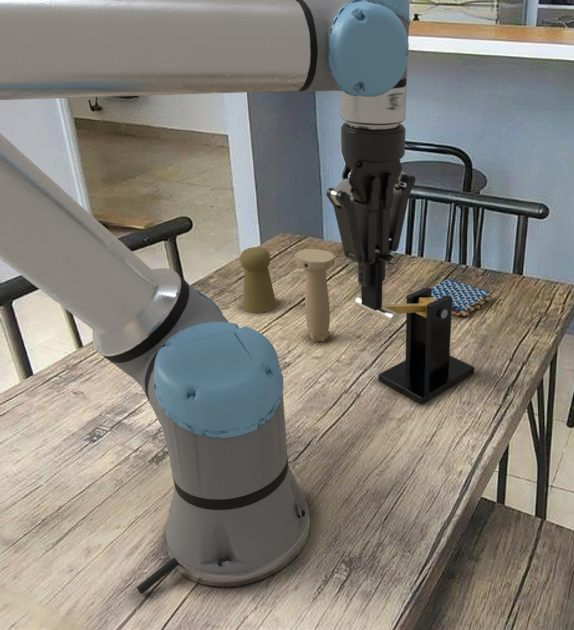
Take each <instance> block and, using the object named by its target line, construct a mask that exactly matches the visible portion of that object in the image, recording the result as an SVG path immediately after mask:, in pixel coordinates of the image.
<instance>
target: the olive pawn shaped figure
mask: <svg viewBox="0 0 574 630" xmlns="http://www.w3.org/2000/svg"><path fill="white" fill-rule="evenodd" d="M239 260H240V261H239V262H240V264H241V266H242V267H243V269H244V270H243V293H242V294H243V296H242V297H243V298H242V309H243V311H245V312H247V313H250V314H263V313H268V312H271V311H272V310H274V309H275V308H276V307H277V301H276V296H275V292H274V287H273V284H272V279H271V274H270V270H269V266H270V263H271V255H270V252H269V251H268V250H267V249H266V248H264V247H260V246H259V247H258V246H252V247H248V248H245V249H244V250H243V251H242V252H241V253H240V257H239Z"/></svg>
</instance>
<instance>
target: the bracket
mask: <svg viewBox="0 0 574 630" xmlns="http://www.w3.org/2000/svg"><path fill="white" fill-rule="evenodd" d="M421 297H432V288H431V287H429V286H425V287H423V288H421V289H419V290H416V291H414V292H411V293H409V294H407V295H406V304H416V303H418V301H419V298H421ZM405 314H406V315H405V360H403V361H401V362H399V363H397V364H395V365H393V366H392V367H390V368H388V369H386V370H383V371H382V372H381V373H378V377H377V378H378V382H380V383H382V384H383V385H385V386H387V387H389V388H390V389H392V390H394V391H396V392H398V394H399V393H400V394H401V395H403V396H404V397H407V398H408V399H410V400H412V401H413V402H415V403H416V404H419V405H421V406H422V405H424V404H426V403H427V402H429V401H430V400H432V399H434V398H436V397H438V396H439V395H441V394H443V393H444V392H446V391H447V390H449V389H451V388H452V387H454V386H456V385H457V384H459V383H461V382H463V381H464V380H466V379H468V378H470V377H471V376H473V375H475V367H474V366H473V365H471V364H469V363H466V362H465V361H462V360H461V359H458V358H456V357H454V356H452V355H451V335H452V333H451V332H452V315H453V314H452V297H451V296H448V295H447V296H444V297H442V298H440V299H438V300H436V301H434V302H431V303H429V304H427V318H425V317H423V316H421V315H419V314H417V313H405Z"/></svg>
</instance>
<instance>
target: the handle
mask: <svg viewBox="0 0 574 630" xmlns="http://www.w3.org/2000/svg"><path fill="white" fill-rule="evenodd" d="M294 263H295V264H296V265H297V266H299V267H300V268H302V269H303V270H304V276H305V278H304V281H305V282H304V286H305V287H304V289H305V290H304V291H305V292H304V296H305V297H304V298H305V299H304V300H305V301H304V308H305V320H306V326H307V333H308V337H309V339H311V340H312V342H314V343H316V342H325V341H326V340H327V339H329V337H330V330H329V329H330V323H331V322H330V320H331V311H330V310H331V308H330V297H329V290H328V279H327V270H328V269H330V268H332V267H333V266H335V263H336V256H335V254H333V253H332V252H330V251H327V250H323V249H315V248H304V249H301V250H299V251H296V252H295V254H294Z"/></svg>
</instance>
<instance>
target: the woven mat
mask: <svg viewBox="0 0 574 630" xmlns="http://www.w3.org/2000/svg"><path fill="white" fill-rule="evenodd" d="M431 289H432V298H434V299H437V300H438V299H440V298H442V297H444V296H447V295H448V296H451V297H452V315H454V316H458V317H459V316H460V317H464V316H465V317H466V316H469V315H470V313H471V312H473V311H475V310H480V309H481V305H482V306H484V305H485V302H488V301H491V292H490V291H487V289H486V288H485V289H482V288H479V286H477V287H475V286H473V285H472V284H469V285H468V284H466V283H465V282H459V281H458V280H453V279H451V278H448V279H444V280H443V281H441V282H440V283H437V284H436V285H435V286H434V287H432V288H431Z"/></svg>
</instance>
